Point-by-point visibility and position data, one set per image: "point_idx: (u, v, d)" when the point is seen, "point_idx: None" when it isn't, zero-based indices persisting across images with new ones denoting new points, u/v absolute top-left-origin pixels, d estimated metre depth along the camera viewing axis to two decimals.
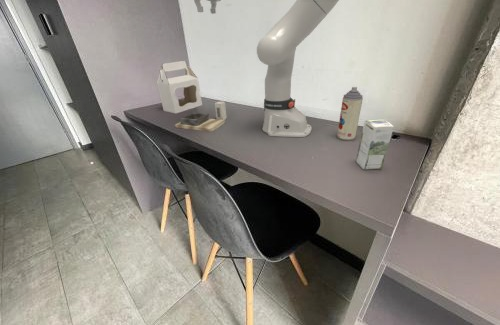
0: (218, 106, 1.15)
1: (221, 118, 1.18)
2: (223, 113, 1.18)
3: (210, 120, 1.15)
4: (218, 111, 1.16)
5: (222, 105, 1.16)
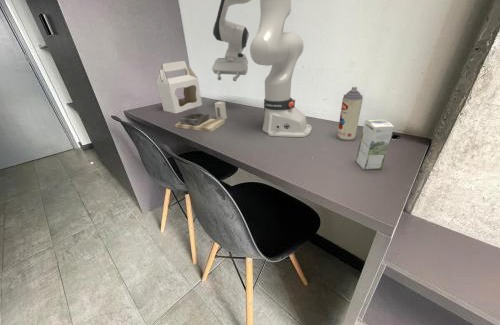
0: (218, 106, 1.15)
1: (221, 118, 1.18)
2: (223, 113, 1.18)
3: (210, 120, 1.15)
4: (218, 111, 1.16)
5: (222, 105, 1.16)
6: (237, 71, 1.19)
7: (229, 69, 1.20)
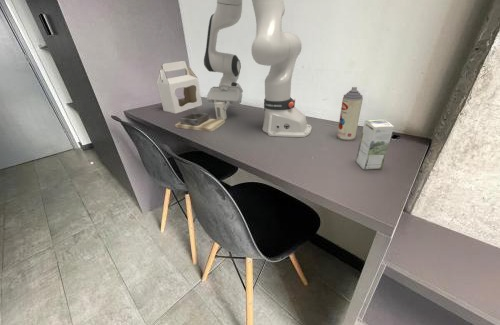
0: (218, 106, 1.15)
1: (221, 118, 1.18)
2: (223, 113, 1.18)
3: (210, 120, 1.15)
4: (218, 111, 1.16)
5: (222, 105, 1.16)
6: (230, 100, 1.15)
7: (223, 98, 1.17)
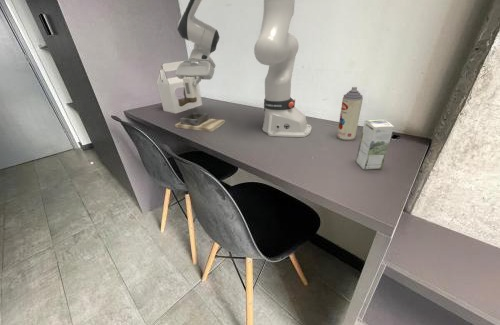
0: (187, 81, 1.03)
1: (191, 95, 1.06)
2: (193, 90, 1.06)
3: (210, 120, 1.15)
4: (187, 87, 1.04)
5: (191, 80, 1.03)
6: (200, 75, 1.03)
7: (192, 73, 1.05)
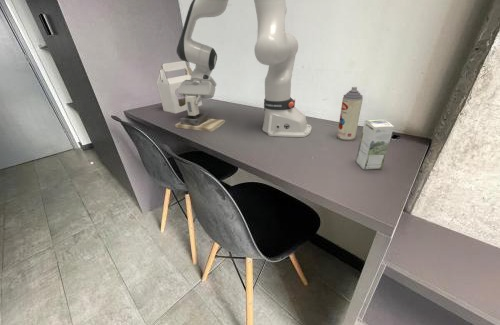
0: (189, 100, 1.07)
1: (192, 113, 1.10)
2: (195, 108, 1.10)
3: (210, 120, 1.15)
4: (189, 106, 1.08)
5: (193, 99, 1.07)
6: (202, 94, 1.07)
7: (194, 92, 1.09)
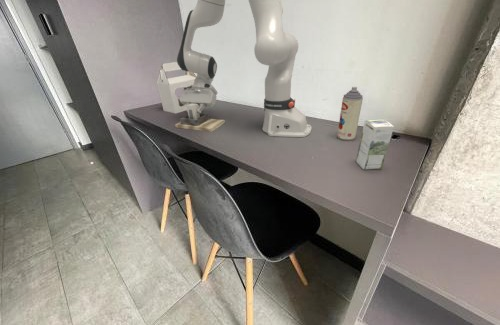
0: (190, 108, 1.09)
1: None
2: (196, 115, 1.11)
3: (210, 120, 1.15)
4: (190, 113, 1.10)
5: (194, 107, 1.09)
6: (203, 103, 1.09)
7: (195, 100, 1.11)
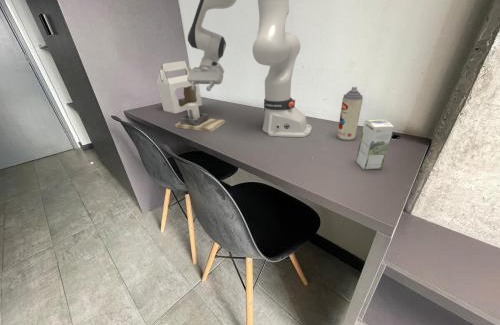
0: (190, 108, 1.09)
1: None
2: (196, 115, 1.11)
3: (210, 120, 1.15)
4: (190, 113, 1.10)
5: (194, 107, 1.09)
6: (211, 80, 1.12)
7: (203, 78, 1.13)
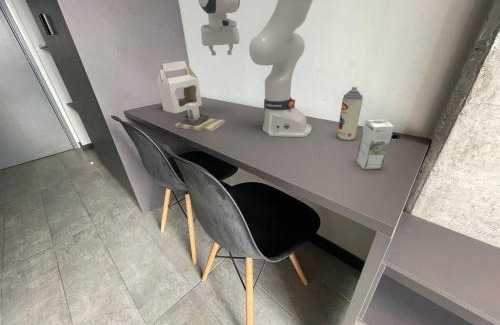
0: (190, 108, 1.09)
1: None
2: (196, 115, 1.11)
3: (210, 120, 1.15)
4: (190, 113, 1.10)
5: (194, 107, 1.09)
6: (229, 44, 1.07)
7: (220, 43, 1.08)
